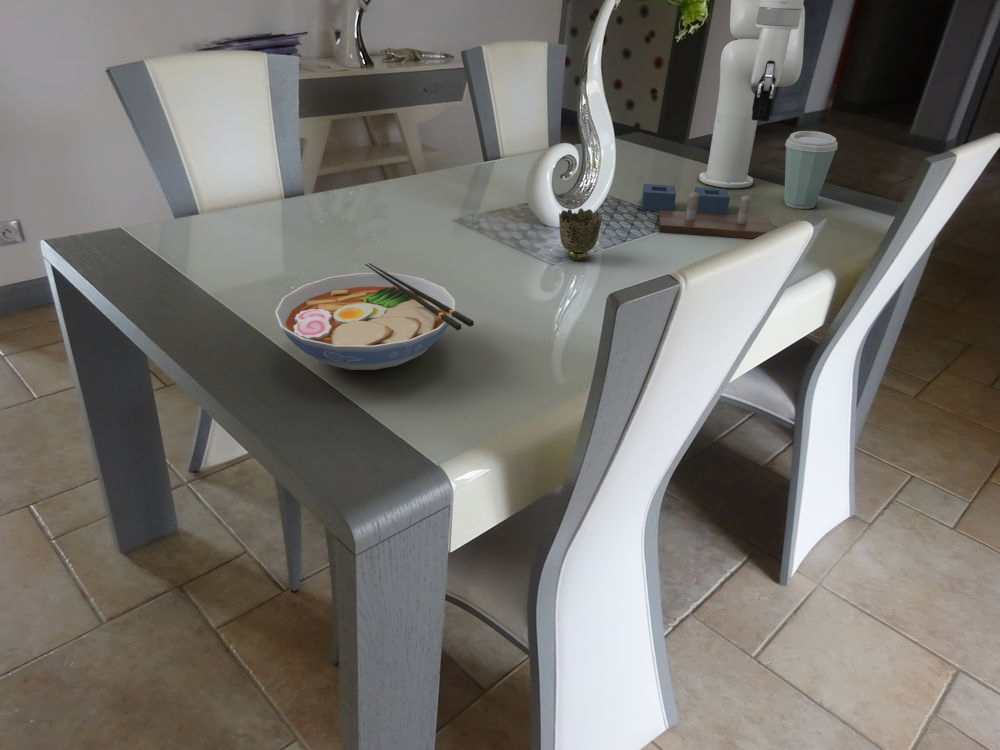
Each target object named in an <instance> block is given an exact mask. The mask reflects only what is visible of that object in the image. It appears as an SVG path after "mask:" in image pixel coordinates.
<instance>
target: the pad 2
mask: <svg viewBox="0 0 1000 750" xmlns="http://www.w3.org/2000/svg"><path fill="white" fill-rule="evenodd" d="M694 192H696V193H698V195H699V199H698V206H697V212H696V213H711V214H725V215H728V211H729V205H730V199H731V197H730V194H729V191H728V188H718V187H717V188H715V187H703V186H702V187H700V186H695V187H694Z"/></svg>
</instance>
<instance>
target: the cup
mask: <svg viewBox="0 0 1000 750" xmlns="http://www.w3.org/2000/svg"><path fill="white" fill-rule="evenodd" d="M558 220H559V221H558V223H559V224H558V225H559V237H560V241H561V244H562V246H563V247H564V249H565V250H567V253H566V255H567V257H568V259H570V260H571V261H576V262H578V261H579V262H580V261H581V262H582V261H584V260H586V259H587V258H588V257H589V252H590V251H591V250H592V249H594V248H595V246H596V244H597V242H598V238H599V235H600V230H601V225H602V221H603V215H602V214H601V213H600V214H599V212H598V211H596V212H593V211H592V209H589V208H588V209H586V210H584V208H581V207H580V208H578V211H577V212H573V210H572V209H571V208H569V209H567V210H564V209H562V210H561V212H559V213H558Z"/></svg>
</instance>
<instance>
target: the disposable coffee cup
mask: <svg viewBox="0 0 1000 750" xmlns="http://www.w3.org/2000/svg"><path fill="white" fill-rule="evenodd" d="M838 145H839V144H838V141H837V137H834V136H833V135H832V134H829V133H825V132H822V131H812V130H799V131H795V132H792V133H790V135H789V137H788V138H787V139H786V140H785V143H784V146H785V166H784V167H785V168H784V169H785V171H784V193H783V194H784V196H783V198H784V199H783V201H784V205H786V206H787V207H789V208H793V209H798V210H799V209H800V210H809V209H813V208H815V206H816V205H817V203H818V200H819V197H820V194H821V192H822V190H823V186H824V183H825V182H826V181H825V180H826V178H827V175H828V172H829V170H830V167H831V164H832V162H833V159H834V156H835V154H836V151H837V150H838Z"/></svg>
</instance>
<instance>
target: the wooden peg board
mask: <svg viewBox="0 0 1000 750" xmlns="http://www.w3.org/2000/svg"><path fill="white" fill-rule="evenodd" d="M698 199H699V195H698V193H696V192H695V191H692V192H690V193H689V194H688V197H687V204H686V211H682V210H681V211H680V210H679V211H678V210H674V211H667V210H659V212H658V214H657V219H658V231H659V233H664V234H665V233H666V234H679V235H681V234H682V235H693V236H708V237H721V238H732V239H733V238H735V239H738V238H739V239H747V240H748V239H749V240H756V239H755V238H757V237H759V236H761V235H763V234H765V233H767V232H769V231H772V230H774V229H775V227H774V225H773V222H772V221H771V219H770V217H766V216H753V215H749V214H750V208H751V203H752V198H751V196H750V195H747V194H746V195H745V194H744V195H742V196H741V197H740V201H739V206H738V211H737V214H727V215H725V214H711V213H696V212H697V206H698Z"/></svg>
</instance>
